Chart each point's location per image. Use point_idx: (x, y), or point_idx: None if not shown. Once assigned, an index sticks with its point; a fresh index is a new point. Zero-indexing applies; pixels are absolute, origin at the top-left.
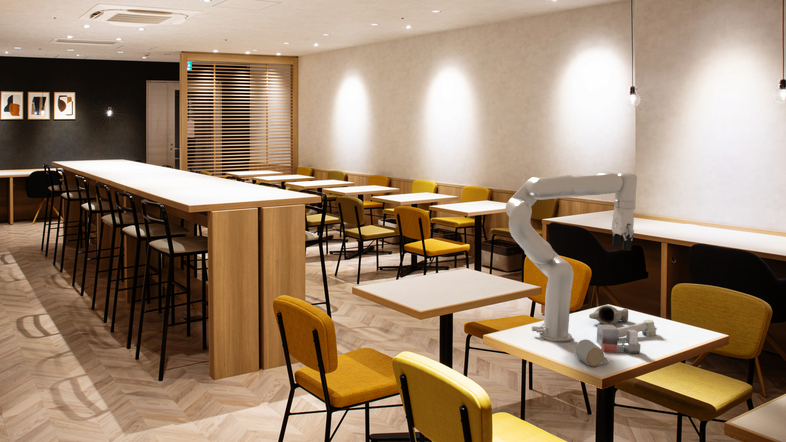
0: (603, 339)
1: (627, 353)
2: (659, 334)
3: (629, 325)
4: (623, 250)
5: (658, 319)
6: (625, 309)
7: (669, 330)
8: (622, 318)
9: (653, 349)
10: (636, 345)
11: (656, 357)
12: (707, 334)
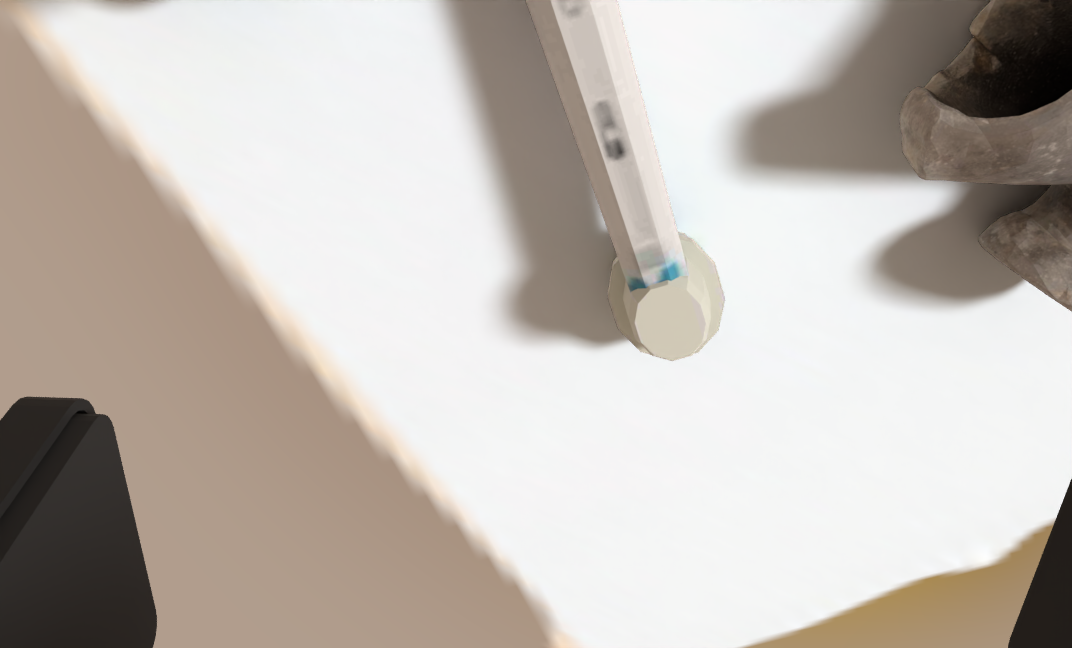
0: None
1: None
2: None
3: (623, 117)
4: (32, 403)
5: (1018, 512)
6: (1065, 287)
7: (746, 462)
8: (1011, 216)
9: (281, 136)
10: None
11: (81, 67)
12: (640, 632)
